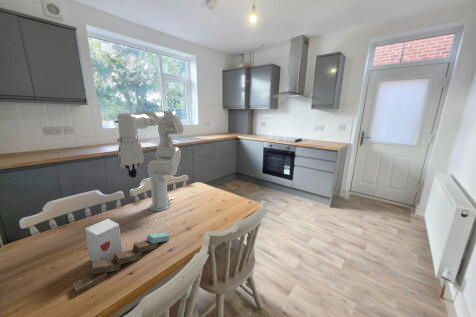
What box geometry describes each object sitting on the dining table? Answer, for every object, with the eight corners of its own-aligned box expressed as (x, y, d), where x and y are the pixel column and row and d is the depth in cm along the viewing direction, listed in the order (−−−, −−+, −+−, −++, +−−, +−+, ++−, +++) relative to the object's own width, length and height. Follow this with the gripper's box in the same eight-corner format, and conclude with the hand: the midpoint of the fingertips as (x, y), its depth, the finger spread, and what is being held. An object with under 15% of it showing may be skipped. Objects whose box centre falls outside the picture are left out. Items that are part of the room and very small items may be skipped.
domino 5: (164, 232, 95) (148, 234, 88) (169, 235, 93) (153, 238, 86) (163, 237, 95) (146, 239, 88) (168, 240, 93) (152, 243, 85)
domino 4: (152, 238, 90) (133, 243, 82) (158, 242, 88) (139, 247, 80) (151, 244, 90) (132, 249, 82) (157, 247, 88) (138, 253, 80)
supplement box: (100, 269, 75) (95, 235, 72) (89, 260, 79) (83, 228, 76) (123, 254, 83) (119, 223, 79) (112, 247, 87) (107, 217, 84)
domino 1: (118, 258, 78) (91, 261, 72) (121, 263, 75) (93, 267, 68) (117, 264, 78) (90, 267, 71) (119, 270, 74) (91, 274, 68)
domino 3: (136, 248, 83) (114, 253, 76) (141, 253, 81) (119, 258, 74) (135, 254, 83) (113, 259, 76) (140, 259, 81) (117, 264, 73)
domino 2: (102, 267, 73) (72, 283, 66) (107, 273, 71) (76, 290, 64) (103, 273, 74) (73, 289, 67) (107, 279, 71) (77, 296, 64)
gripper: (116, 142, 82) (121, 182, 87) (148, 139, 95) (151, 174, 99) (108, 141, 86) (113, 179, 91) (139, 138, 99) (142, 172, 103)
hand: (133, 176), depth 95 cm, fingers closed
